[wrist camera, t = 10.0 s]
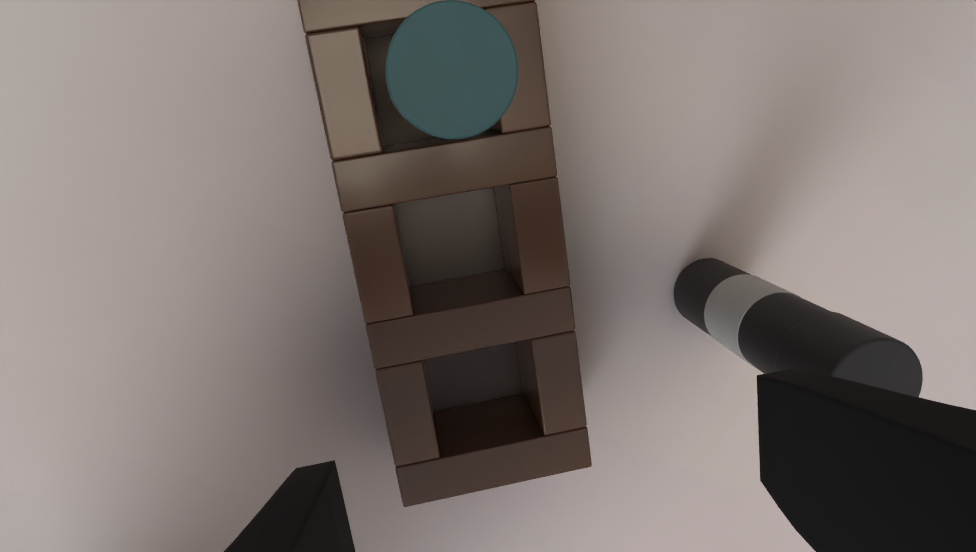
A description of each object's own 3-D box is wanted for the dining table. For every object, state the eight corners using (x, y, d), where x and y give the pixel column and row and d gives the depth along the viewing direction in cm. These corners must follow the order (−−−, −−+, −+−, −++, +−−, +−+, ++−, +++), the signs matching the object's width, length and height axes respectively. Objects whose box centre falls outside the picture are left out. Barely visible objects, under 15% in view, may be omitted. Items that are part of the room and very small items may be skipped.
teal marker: (471, 119, 20) (527, 128, 12) (393, 131, 19) (399, 149, 12) (459, 37, 19) (509, -10, 11) (378, 49, 19) (373, 9, 11)
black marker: (739, 316, 22) (922, 426, 15) (674, 329, 22) (826, 447, 15) (735, 251, 22) (926, 329, 14) (669, 263, 22) (826, 350, 14)
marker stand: (565, 420, 22) (592, 466, 20) (401, 455, 22) (403, 508, 19) (507, -33, 19) (530, -59, 16) (306, -6, 18) (291, -27, 15)
